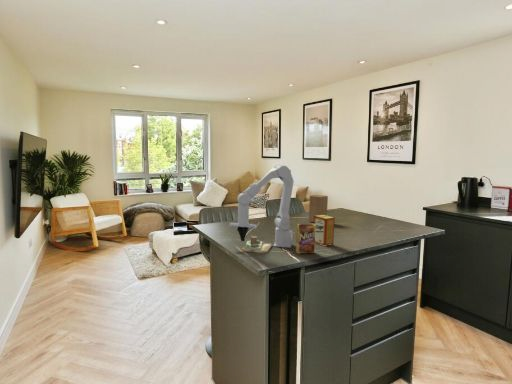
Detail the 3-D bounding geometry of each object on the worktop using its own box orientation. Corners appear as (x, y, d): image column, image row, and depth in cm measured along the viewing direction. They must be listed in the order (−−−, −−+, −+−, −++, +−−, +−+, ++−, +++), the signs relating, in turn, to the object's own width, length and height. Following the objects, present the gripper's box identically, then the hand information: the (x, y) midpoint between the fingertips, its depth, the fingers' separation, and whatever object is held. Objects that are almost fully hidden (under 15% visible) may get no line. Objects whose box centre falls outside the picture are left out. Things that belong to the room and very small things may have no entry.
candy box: (297, 254, 165) (298, 224, 163) (295, 251, 169) (296, 222, 167) (314, 254, 165) (315, 224, 164) (312, 251, 170) (313, 222, 168)
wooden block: (308, 222, 245) (309, 195, 242) (315, 220, 252) (316, 194, 250) (320, 224, 238) (321, 197, 236) (326, 222, 246) (328, 195, 243)
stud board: (272, 246, 178) (272, 240, 178) (266, 253, 165) (266, 246, 165) (248, 243, 181) (248, 238, 181) (241, 250, 168) (241, 244, 168)
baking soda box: (333, 245, 183) (334, 217, 182) (324, 246, 180) (326, 218, 178) (321, 241, 191) (322, 214, 190) (313, 242, 188) (314, 215, 186)
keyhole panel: (262, 243, 180) (262, 234, 179) (260, 250, 167) (260, 240, 166) (247, 242, 181) (247, 233, 180) (244, 249, 168) (244, 239, 167)
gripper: (258, 215, 175) (257, 240, 177) (232, 213, 179) (232, 237, 180) (255, 217, 168) (254, 243, 170) (228, 216, 172) (228, 241, 173)
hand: (242, 240), depth 175 cm, fingers closed
